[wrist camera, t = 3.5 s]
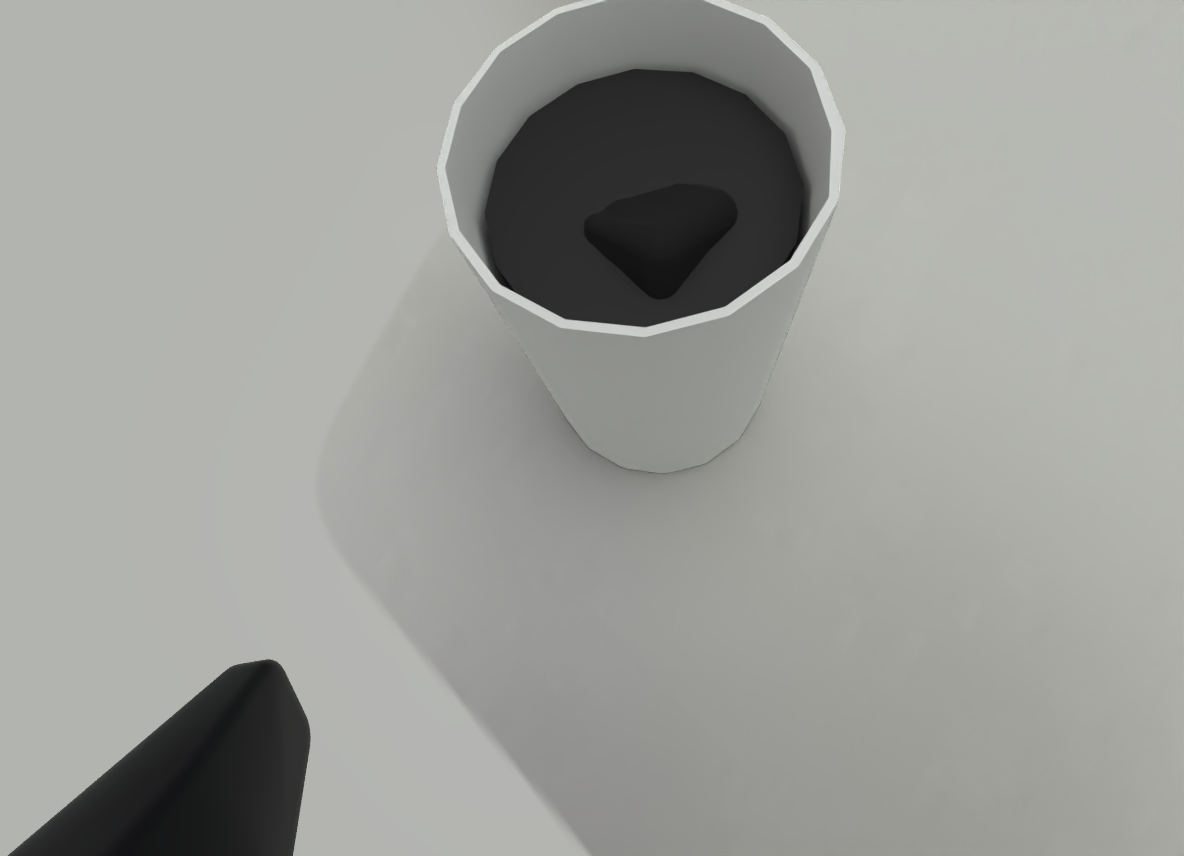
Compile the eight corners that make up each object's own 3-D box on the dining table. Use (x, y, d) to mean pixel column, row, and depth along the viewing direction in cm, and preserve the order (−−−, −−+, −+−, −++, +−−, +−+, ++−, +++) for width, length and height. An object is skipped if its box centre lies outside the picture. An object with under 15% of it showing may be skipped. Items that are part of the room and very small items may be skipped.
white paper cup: (831, 362, 22) (935, 121, 13) (668, 541, 21) (649, 424, 12) (651, 225, 24) (625, -72, 15) (493, 384, 23) (356, 175, 14)
